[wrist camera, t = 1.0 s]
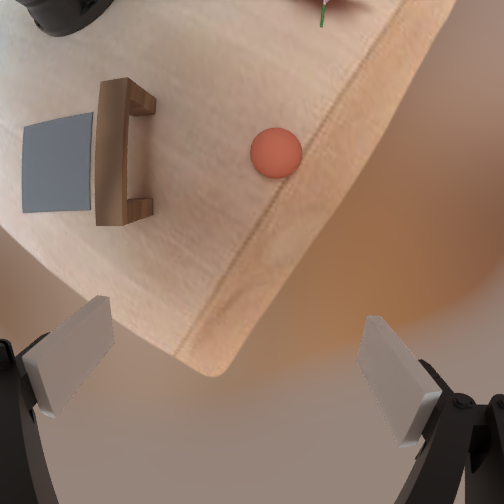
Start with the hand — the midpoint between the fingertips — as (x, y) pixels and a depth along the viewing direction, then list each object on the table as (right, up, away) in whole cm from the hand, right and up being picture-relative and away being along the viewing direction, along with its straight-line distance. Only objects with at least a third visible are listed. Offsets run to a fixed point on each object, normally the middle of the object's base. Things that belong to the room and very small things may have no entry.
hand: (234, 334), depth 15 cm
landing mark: (-27, +16, +20) cm, 37 cm away
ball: (+3, +15, +17) cm, 23 cm away
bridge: (-13, +16, +20) cm, 28 cm away
